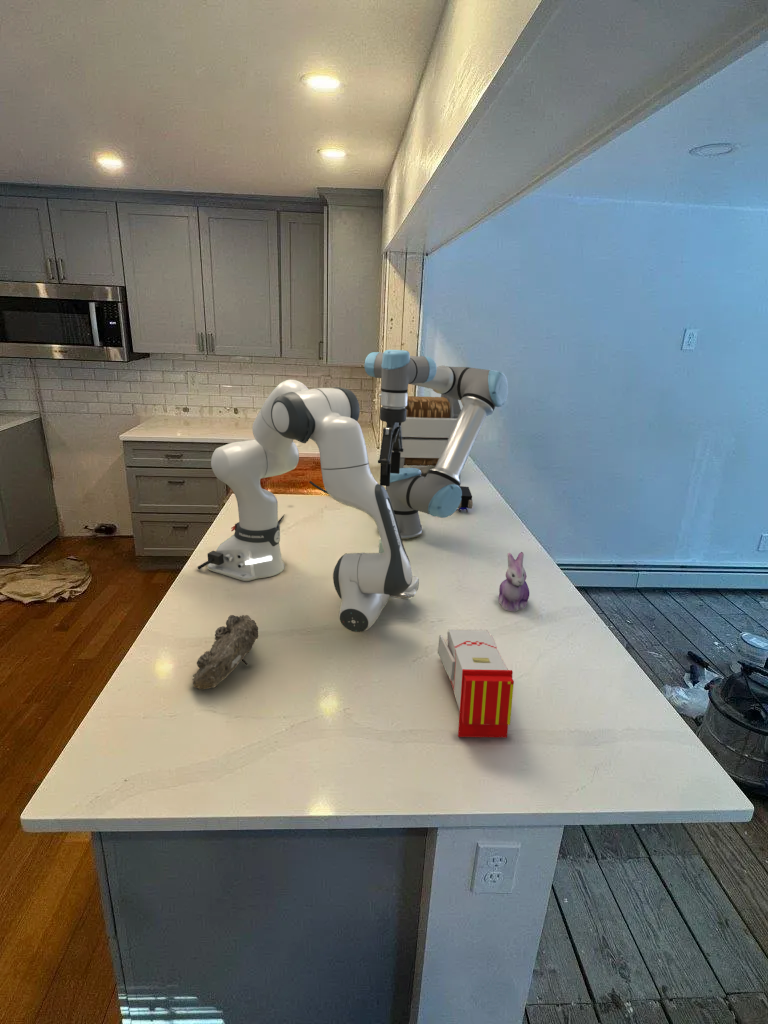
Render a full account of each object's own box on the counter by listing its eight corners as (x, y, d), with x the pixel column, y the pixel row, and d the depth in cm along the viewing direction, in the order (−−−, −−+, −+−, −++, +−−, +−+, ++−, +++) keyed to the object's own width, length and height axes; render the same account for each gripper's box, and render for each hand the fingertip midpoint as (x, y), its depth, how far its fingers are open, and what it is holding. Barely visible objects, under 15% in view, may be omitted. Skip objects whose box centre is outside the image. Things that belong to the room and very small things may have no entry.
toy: (488, 613, 130) (523, 677, 101) (484, 667, 133) (517, 744, 104) (435, 612, 130) (455, 676, 101) (432, 666, 133) (451, 743, 103)
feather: (291, 508, 223) (294, 504, 222) (274, 533, 196) (277, 528, 195) (287, 506, 222) (290, 502, 222) (270, 530, 196) (272, 526, 195)
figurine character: (472, 517, 222) (467, 501, 236) (475, 500, 219) (469, 484, 233) (455, 517, 222) (451, 500, 236) (457, 499, 219) (452, 484, 232)
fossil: (212, 617, 133) (257, 588, 128) (239, 645, 136) (285, 617, 131) (172, 683, 114) (224, 651, 109) (205, 714, 117) (258, 684, 112)
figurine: (511, 616, 149) (518, 564, 143) (487, 598, 157) (493, 549, 152) (539, 609, 153) (547, 558, 148) (514, 592, 161) (521, 544, 156)
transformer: (382, 463, 289) (386, 382, 275) (445, 464, 293) (451, 384, 279) (390, 482, 257) (394, 392, 243) (460, 483, 261) (468, 394, 247)
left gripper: (413, 586, 142) (425, 564, 154) (336, 574, 147) (353, 553, 159) (412, 609, 144) (423, 585, 156) (336, 595, 149) (353, 574, 161)
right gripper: (390, 399, 172) (387, 467, 179) (369, 412, 149) (366, 489, 156) (414, 401, 171) (410, 469, 178) (397, 415, 148) (393, 492, 155)
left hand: (387, 569), depth 158 cm, fingers open, 8 cm apart
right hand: (390, 479), depth 167 cm, fingers open, 13 cm apart
